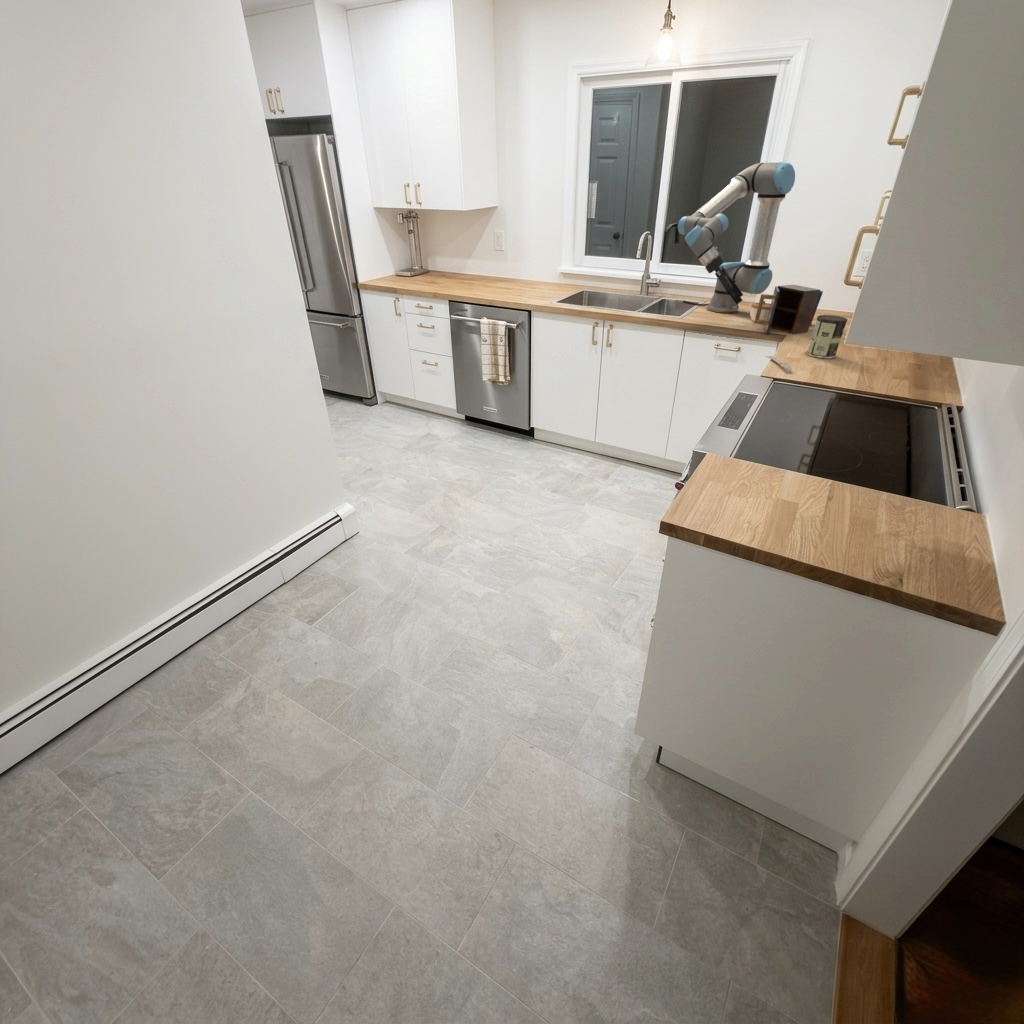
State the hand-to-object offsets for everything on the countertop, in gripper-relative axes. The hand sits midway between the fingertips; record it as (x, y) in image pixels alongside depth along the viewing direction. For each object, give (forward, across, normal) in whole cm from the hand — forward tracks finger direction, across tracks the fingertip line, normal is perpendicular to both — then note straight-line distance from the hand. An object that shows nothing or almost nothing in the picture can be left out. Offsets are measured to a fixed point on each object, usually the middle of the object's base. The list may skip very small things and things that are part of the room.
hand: (740, 299), depth 236 cm
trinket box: (+17, +23, +2) cm, 29 cm away
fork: (+22, -50, -3) cm, 55 cm away
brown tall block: (+32, +26, -13) cm, 43 cm away
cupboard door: (+17, +5, +1) cm, 18 cm away
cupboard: (+26, +11, -7) cm, 29 cm away
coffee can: (+33, -29, -14) cm, 46 cm away
